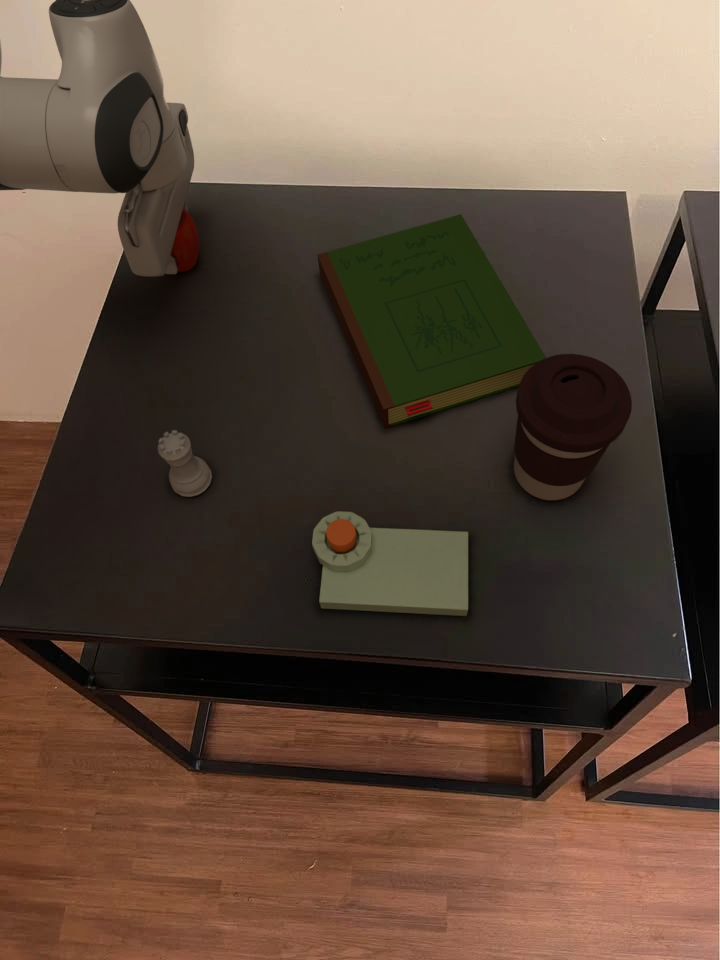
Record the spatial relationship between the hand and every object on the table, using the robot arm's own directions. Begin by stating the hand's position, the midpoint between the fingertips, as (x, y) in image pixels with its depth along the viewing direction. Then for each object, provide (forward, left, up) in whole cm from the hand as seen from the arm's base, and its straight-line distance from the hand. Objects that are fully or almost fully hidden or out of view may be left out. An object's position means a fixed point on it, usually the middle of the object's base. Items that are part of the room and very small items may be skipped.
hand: (177, 248), depth 91 cm
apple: (0, 0, -3) cm, 3 cm away
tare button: (+5, -46, +1) cm, 46 cm away
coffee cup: (+28, -46, -3) cm, 54 cm away
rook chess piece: (-7, -32, -3) cm, 33 cm away
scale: (+9, -50, -2) cm, 51 cm away
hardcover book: (+24, -23, -3) cm, 33 cm away
